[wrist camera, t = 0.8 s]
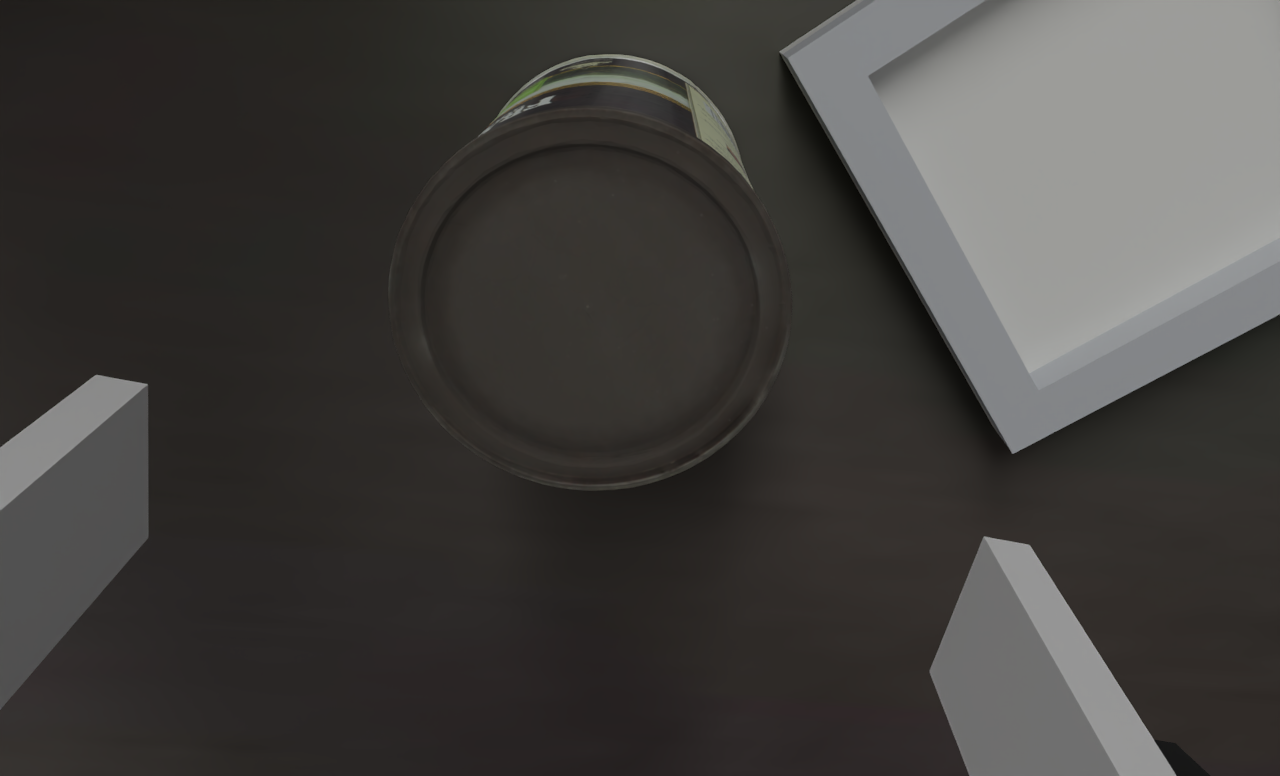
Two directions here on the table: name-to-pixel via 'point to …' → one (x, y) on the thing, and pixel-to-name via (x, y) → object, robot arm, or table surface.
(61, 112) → the table surface
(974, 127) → the plate
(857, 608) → the table surface
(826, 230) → the table surface
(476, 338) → the coffee can
